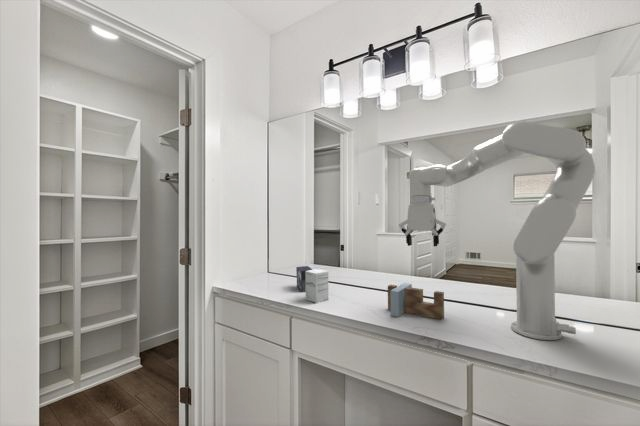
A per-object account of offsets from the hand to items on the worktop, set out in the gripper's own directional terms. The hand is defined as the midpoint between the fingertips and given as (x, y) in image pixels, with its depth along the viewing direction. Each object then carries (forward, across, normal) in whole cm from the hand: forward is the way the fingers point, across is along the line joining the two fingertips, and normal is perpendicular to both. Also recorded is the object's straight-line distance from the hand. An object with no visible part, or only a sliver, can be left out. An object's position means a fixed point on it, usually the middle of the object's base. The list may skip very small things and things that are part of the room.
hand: (422, 245), depth 112 cm
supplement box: (+24, +43, +10) cm, 50 cm away
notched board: (+24, +2, +5) cm, 25 cm away
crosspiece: (+24, +7, +5) cm, 26 cm away
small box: (+23, +58, -1) cm, 63 cm away
